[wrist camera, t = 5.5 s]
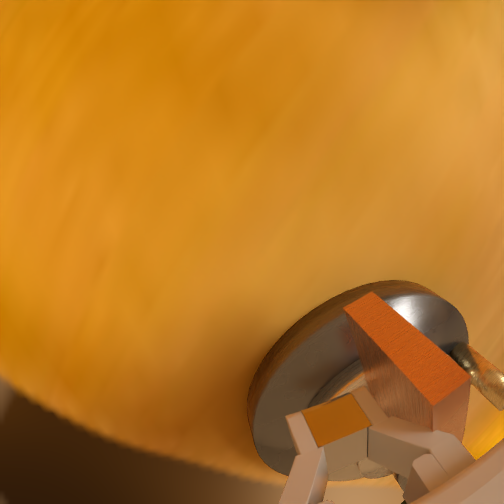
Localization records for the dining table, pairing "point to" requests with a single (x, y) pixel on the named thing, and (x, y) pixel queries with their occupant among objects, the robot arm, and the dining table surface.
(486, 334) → the dining table surface
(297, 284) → the dining table surface
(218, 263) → the dining table surface
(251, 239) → the dining table surface
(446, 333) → the handwheel with crank handle
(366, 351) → the multicoloured piece
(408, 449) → the robot arm
